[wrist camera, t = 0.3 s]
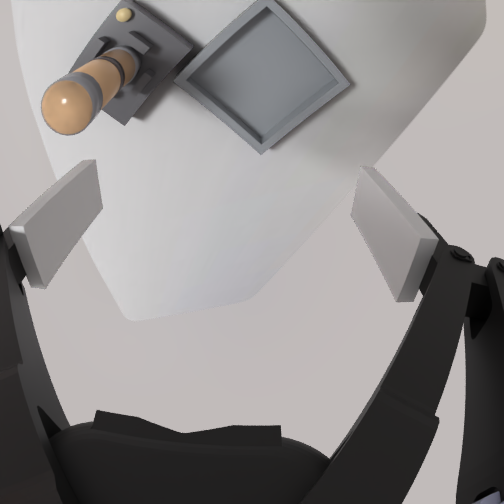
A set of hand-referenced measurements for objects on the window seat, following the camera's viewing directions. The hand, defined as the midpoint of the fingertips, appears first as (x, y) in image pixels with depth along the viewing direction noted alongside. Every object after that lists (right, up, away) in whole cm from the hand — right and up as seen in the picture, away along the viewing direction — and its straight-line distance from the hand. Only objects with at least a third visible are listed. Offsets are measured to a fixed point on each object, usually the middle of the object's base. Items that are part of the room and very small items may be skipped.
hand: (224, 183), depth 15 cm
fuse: (-13, +17, +13) cm, 25 cm away
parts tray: (+2, +18, +18) cm, 26 cm away
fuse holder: (-13, +19, +15) cm, 28 cm away
